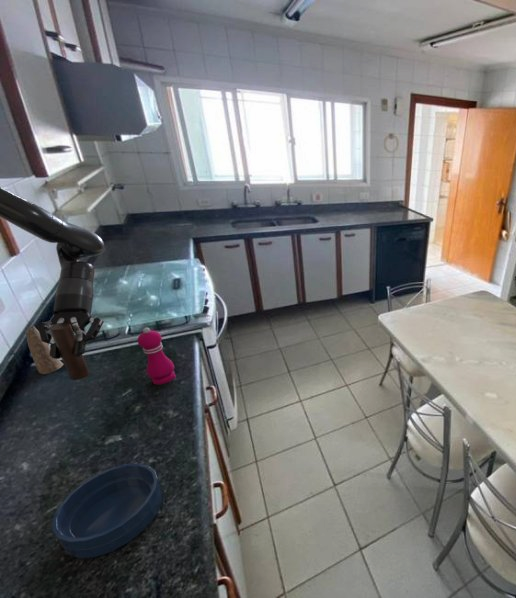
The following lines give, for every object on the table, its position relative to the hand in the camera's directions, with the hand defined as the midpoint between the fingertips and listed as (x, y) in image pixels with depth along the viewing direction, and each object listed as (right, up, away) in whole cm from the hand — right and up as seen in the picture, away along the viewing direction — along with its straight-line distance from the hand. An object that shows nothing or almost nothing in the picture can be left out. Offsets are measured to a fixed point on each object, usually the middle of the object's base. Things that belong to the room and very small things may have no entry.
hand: (67, 356), depth 87 cm
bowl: (+29, -31, -18) cm, 46 cm away
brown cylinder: (-1, -6, +5) cm, 8 cm away
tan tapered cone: (-24, -10, +20) cm, 32 cm away
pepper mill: (+11, -12, +21) cm, 27 cm away
